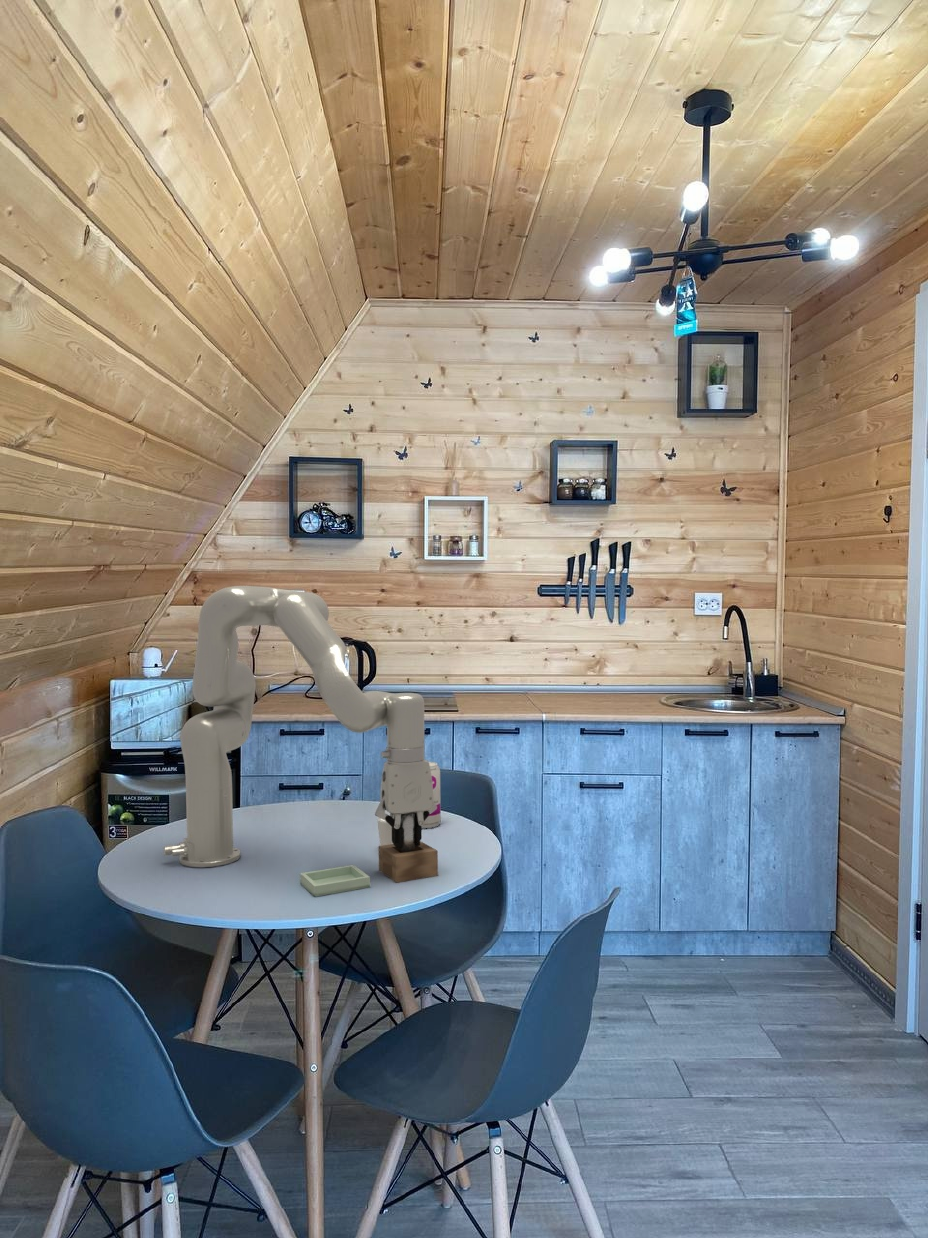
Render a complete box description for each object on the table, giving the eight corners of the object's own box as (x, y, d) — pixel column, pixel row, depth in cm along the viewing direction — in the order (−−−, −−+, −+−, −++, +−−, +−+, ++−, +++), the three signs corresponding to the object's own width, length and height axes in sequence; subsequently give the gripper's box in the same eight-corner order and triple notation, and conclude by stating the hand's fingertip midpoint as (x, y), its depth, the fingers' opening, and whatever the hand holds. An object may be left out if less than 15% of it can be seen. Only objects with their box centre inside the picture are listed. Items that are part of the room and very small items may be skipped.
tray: (314, 897, 163) (314, 886, 163) (300, 883, 171) (300, 873, 171) (370, 887, 169) (369, 877, 168) (353, 874, 176) (353, 865, 176)
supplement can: (440, 829, 211) (439, 767, 211) (405, 829, 211) (405, 767, 211) (441, 820, 219) (440, 761, 219) (408, 821, 219) (407, 761, 219)
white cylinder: (414, 847, 196) (413, 816, 196) (399, 855, 190) (398, 823, 189) (387, 844, 199) (387, 813, 198) (371, 852, 192) (371, 820, 192)
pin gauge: (402, 868, 175) (402, 808, 175) (396, 864, 178) (395, 805, 178) (417, 866, 176) (417, 807, 176) (411, 862, 179) (410, 803, 179)
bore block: (396, 882, 171) (396, 857, 171) (378, 870, 179) (378, 846, 179) (437, 875, 175) (437, 850, 175) (419, 864, 183) (418, 840, 183)
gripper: (374, 761, 170) (375, 856, 170) (450, 754, 177) (451, 844, 178) (360, 755, 176) (361, 846, 177) (434, 748, 184) (435, 836, 184)
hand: (406, 844), depth 177 cm, fingers closed on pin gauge, 3 cm apart
